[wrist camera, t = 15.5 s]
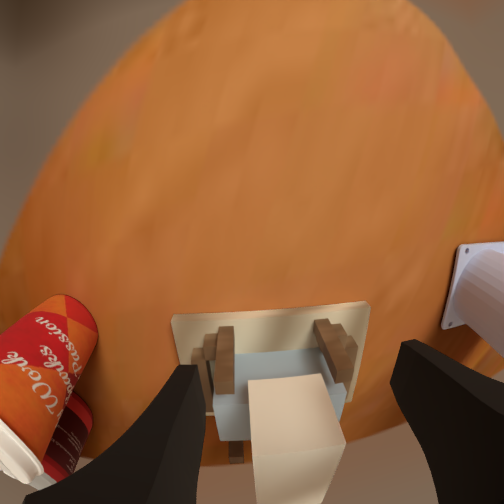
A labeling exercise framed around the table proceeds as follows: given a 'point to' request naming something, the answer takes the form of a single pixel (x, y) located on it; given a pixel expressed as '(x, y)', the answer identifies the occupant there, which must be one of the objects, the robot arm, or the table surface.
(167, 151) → the table surface
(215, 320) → the jig
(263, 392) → the cream white block
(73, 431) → the canned food
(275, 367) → the grey block
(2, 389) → the paper cup
